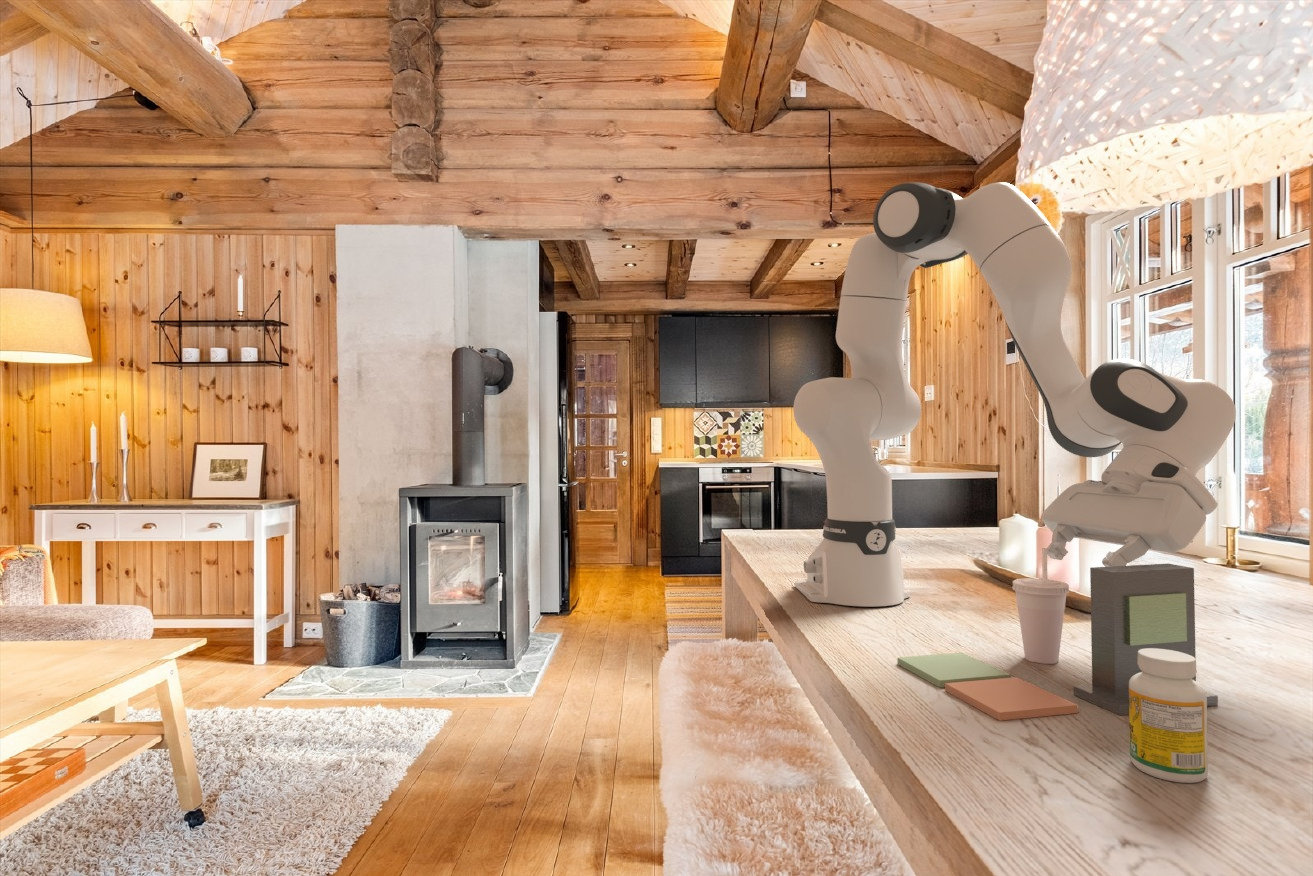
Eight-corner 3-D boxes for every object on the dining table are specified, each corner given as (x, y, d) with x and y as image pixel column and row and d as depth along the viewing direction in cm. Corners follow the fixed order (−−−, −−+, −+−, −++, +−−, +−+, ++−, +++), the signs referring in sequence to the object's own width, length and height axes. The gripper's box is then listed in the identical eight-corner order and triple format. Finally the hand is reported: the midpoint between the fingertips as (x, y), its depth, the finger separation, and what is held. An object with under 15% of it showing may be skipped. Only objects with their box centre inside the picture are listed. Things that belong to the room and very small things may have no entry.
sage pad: (897, 664, 90) (897, 657, 90) (962, 658, 92) (961, 652, 92) (940, 687, 81) (939, 680, 81) (1010, 681, 83) (1010, 674, 83)
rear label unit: (1073, 695, 78) (1071, 565, 78) (1166, 686, 81) (1163, 561, 81) (1119, 715, 72) (1117, 575, 72) (1217, 705, 75) (1215, 570, 75)
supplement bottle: (1197, 791, 56) (1194, 668, 57) (1119, 768, 61) (1117, 653, 61) (1216, 771, 60) (1214, 655, 60) (1142, 750, 64) (1140, 642, 64)
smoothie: (1078, 668, 87) (1076, 552, 87) (1021, 665, 89) (1019, 551, 89) (1060, 653, 94) (1058, 545, 94) (1007, 651, 95) (1005, 544, 95)
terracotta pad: (945, 690, 80) (945, 683, 80) (1016, 684, 82) (1016, 677, 82) (999, 720, 71) (999, 712, 71) (1078, 712, 73) (1077, 705, 73)
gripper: (1066, 465, 104) (1008, 535, 102) (1200, 469, 84) (1131, 556, 82) (1093, 495, 105) (1036, 565, 103) (1232, 506, 85) (1164, 593, 83)
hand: (1079, 561), depth 92 cm, fingers open, 8 cm apart
